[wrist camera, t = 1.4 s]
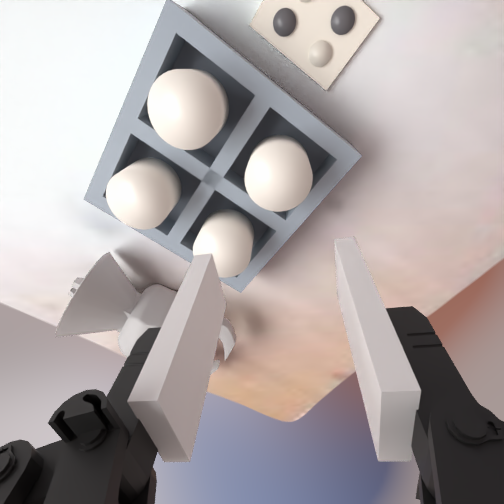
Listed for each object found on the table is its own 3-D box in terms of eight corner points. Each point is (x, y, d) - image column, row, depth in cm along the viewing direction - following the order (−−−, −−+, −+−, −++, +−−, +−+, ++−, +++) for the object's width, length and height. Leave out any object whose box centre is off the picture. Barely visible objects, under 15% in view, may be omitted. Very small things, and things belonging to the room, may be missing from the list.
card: (249, 25, 25) (249, 25, 24) (297, -61, 22) (297, -63, 21) (325, 90, 27) (326, 90, 26) (378, 18, 24) (380, 17, 23)
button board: (104, 185, 33) (83, 199, 29) (183, 7, 24) (167, -3, 21) (244, 271, 37) (240, 292, 33) (352, 145, 29) (362, 155, 25)
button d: (118, 191, 30) (97, 207, 26) (140, 145, 27) (119, 156, 24) (166, 220, 31) (152, 240, 27) (191, 179, 28) (179, 195, 25)
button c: (155, 114, 26) (135, 121, 22) (184, 53, 23) (167, 50, 20) (208, 151, 27) (197, 163, 23) (241, 97, 25) (234, 101, 21)
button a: (237, 172, 28) (231, 187, 24) (272, 121, 25) (271, 130, 22) (284, 204, 29) (284, 223, 25) (321, 159, 26) (327, 172, 23)
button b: (193, 237, 31) (182, 258, 28) (219, 198, 29) (211, 216, 26) (235, 263, 33) (230, 286, 29) (264, 228, 30) (262, 249, 27)
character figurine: (74, 301, 42) (205, 360, 46) (30, 355, 34) (192, 418, 39) (103, 231, 35) (250, 307, 40) (57, 277, 28) (245, 364, 33)
